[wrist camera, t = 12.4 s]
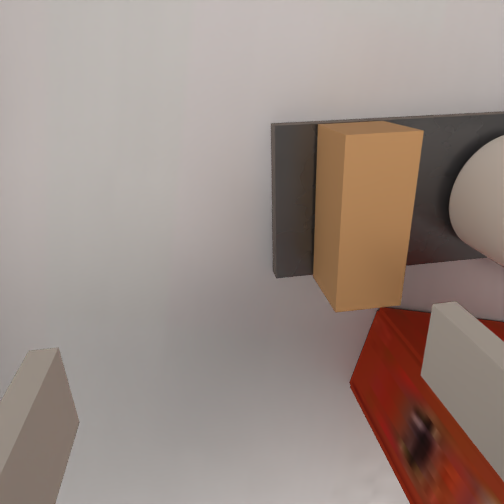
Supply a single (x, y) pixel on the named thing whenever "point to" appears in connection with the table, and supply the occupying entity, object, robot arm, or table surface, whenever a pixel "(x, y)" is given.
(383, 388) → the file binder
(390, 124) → the block
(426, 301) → the table surface
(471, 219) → the beverage can
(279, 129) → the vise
